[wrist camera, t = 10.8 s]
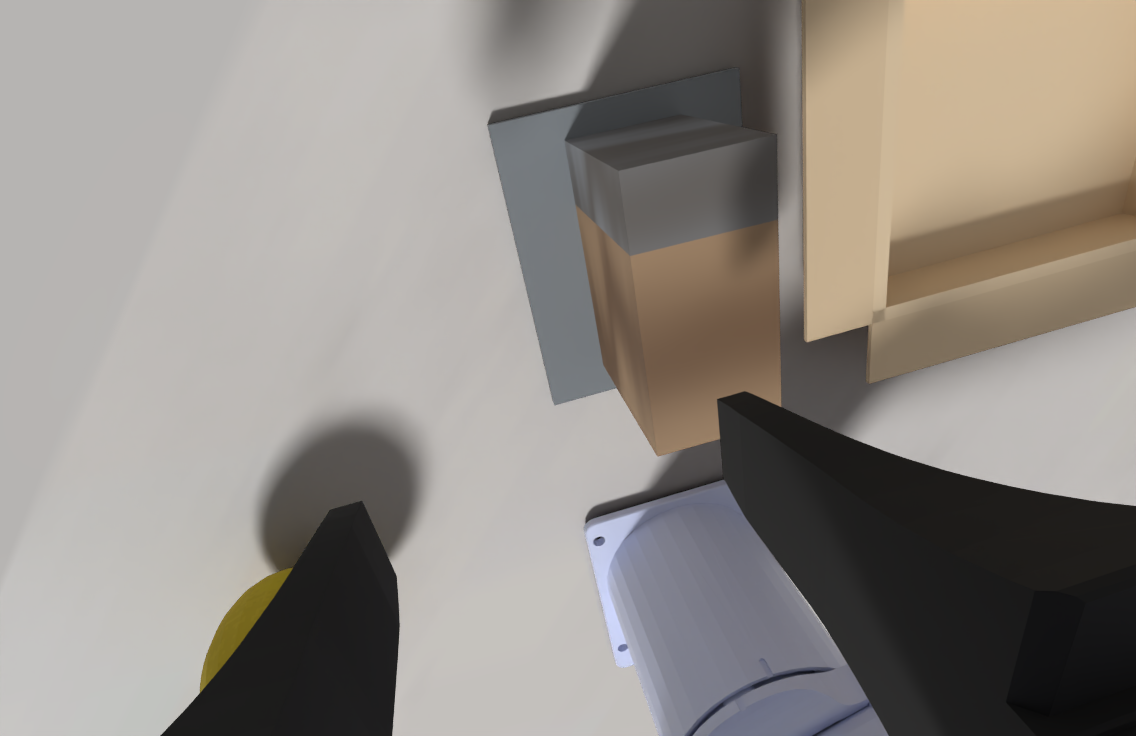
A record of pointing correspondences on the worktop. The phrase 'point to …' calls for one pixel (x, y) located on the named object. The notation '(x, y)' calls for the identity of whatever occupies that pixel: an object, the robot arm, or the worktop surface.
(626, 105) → the rubber mat
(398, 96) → the worktop surface
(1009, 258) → the carton
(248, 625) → the lemon
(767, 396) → the walnut box
